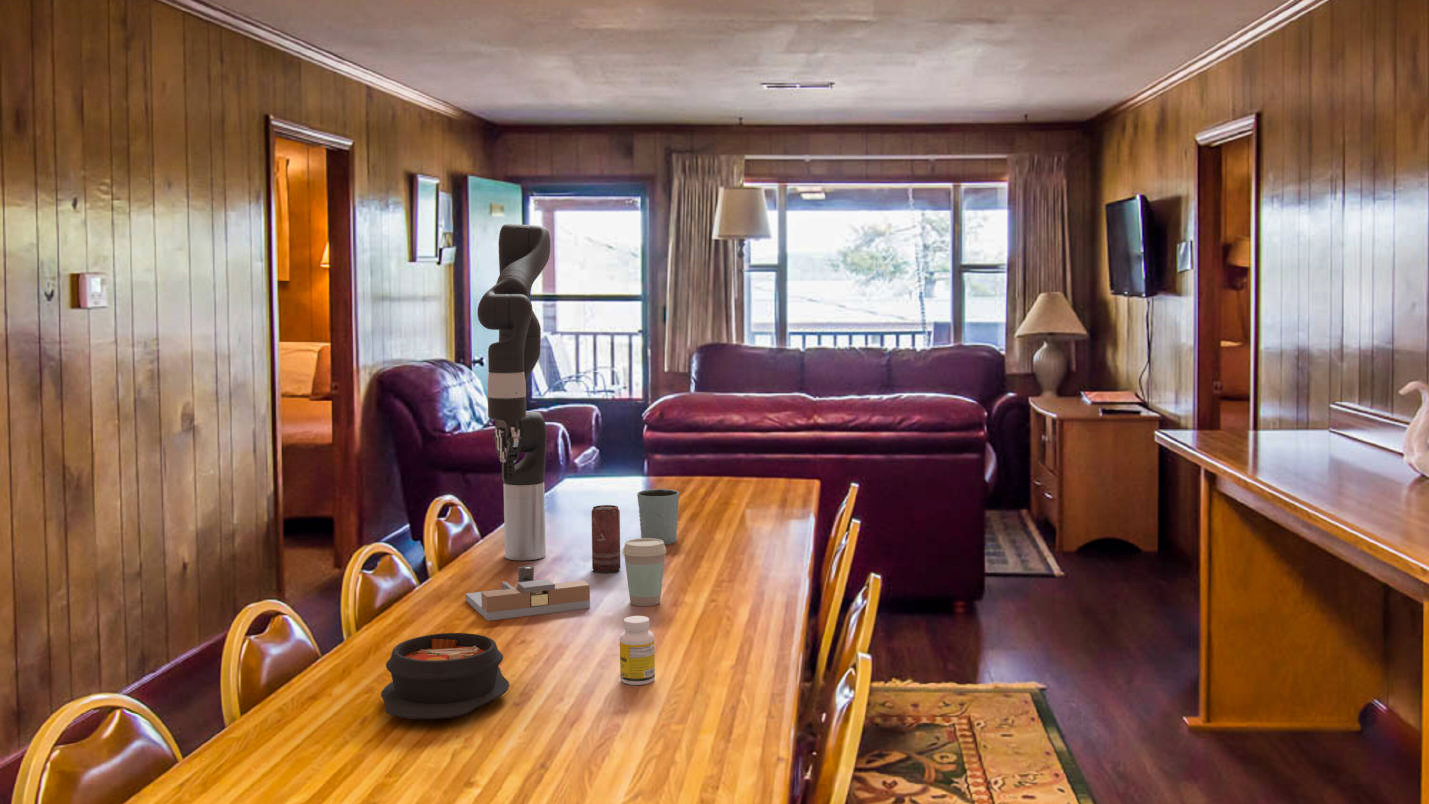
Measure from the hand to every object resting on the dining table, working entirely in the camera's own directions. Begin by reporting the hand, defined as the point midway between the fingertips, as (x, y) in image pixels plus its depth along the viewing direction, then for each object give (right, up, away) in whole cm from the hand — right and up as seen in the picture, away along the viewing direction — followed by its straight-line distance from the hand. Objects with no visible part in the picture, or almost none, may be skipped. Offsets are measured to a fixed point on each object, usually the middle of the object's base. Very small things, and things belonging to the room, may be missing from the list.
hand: (508, 480), depth 241 cm
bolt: (+6, -22, -11) cm, 25 cm away
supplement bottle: (+29, -28, -54) cm, 67 cm away
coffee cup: (+28, -24, -7) cm, 37 cm away
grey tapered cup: (+28, -18, +51) cm, 61 cm away
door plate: (+5, -24, -8) cm, 25 cm away
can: (+18, -21, +21) cm, 34 cm away
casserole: (+1, -29, -62) cm, 69 cm away
